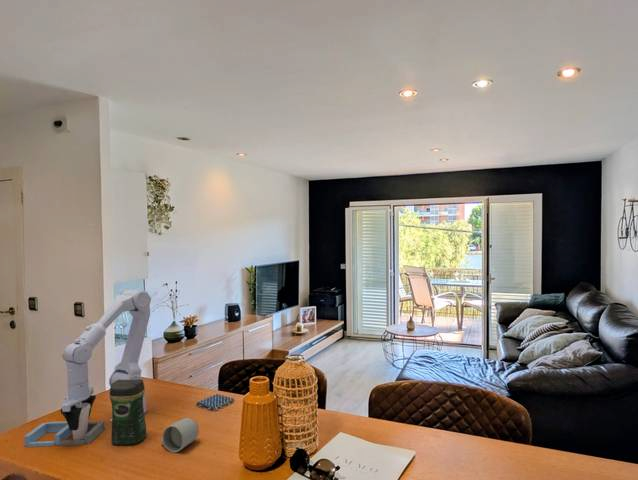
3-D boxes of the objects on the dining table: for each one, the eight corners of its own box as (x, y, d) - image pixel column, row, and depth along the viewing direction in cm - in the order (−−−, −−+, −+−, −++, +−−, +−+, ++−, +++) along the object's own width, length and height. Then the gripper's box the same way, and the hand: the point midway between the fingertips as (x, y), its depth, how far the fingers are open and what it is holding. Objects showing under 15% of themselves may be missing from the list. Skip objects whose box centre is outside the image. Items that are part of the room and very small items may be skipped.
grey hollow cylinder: (201, 441, 129) (200, 416, 129) (183, 454, 121) (182, 427, 121) (173, 436, 133) (171, 412, 133) (154, 449, 125) (152, 423, 125)
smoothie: (81, 443, 130) (79, 397, 129) (63, 441, 131) (61, 396, 130) (96, 433, 136) (94, 389, 135) (79, 431, 137) (77, 388, 137)
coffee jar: (150, 433, 134) (148, 375, 134) (138, 446, 127) (136, 384, 126) (120, 433, 135) (118, 375, 135) (106, 446, 127) (104, 384, 127)
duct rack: (104, 428, 139) (104, 419, 138) (88, 444, 128) (88, 434, 128) (44, 431, 138) (43, 422, 138) (23, 447, 128) (23, 437, 128)
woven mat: (194, 407, 155) (194, 402, 155) (216, 397, 164) (216, 392, 164) (213, 414, 149) (213, 408, 149) (235, 403, 158) (235, 398, 158)
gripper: (77, 374, 140) (79, 415, 140) (51, 391, 126) (52, 436, 126) (99, 373, 140) (100, 414, 141) (75, 390, 126) (77, 435, 126)
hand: (79, 424), depth 133 cm, fingers closed on smoothie, 6 cm apart
